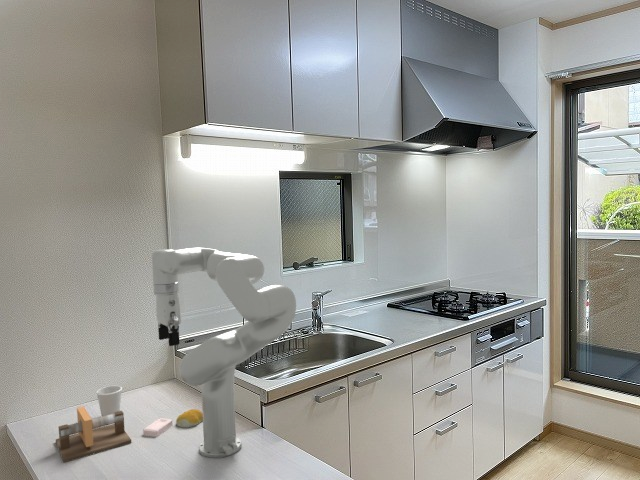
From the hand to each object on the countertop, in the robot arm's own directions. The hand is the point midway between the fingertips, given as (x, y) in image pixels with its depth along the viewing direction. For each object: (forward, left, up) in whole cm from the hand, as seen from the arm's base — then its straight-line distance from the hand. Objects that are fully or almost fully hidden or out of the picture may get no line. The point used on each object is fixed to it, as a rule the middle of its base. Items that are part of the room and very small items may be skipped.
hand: (169, 341), depth 158 cm
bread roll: (+6, -8, -31) cm, 32 cm away
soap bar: (+7, +3, -31) cm, 32 cm away
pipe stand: (+11, +22, -30) cm, 39 cm away
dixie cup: (+28, +13, -31) cm, 43 cm away
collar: (+11, +24, -28) cm, 39 cm away
